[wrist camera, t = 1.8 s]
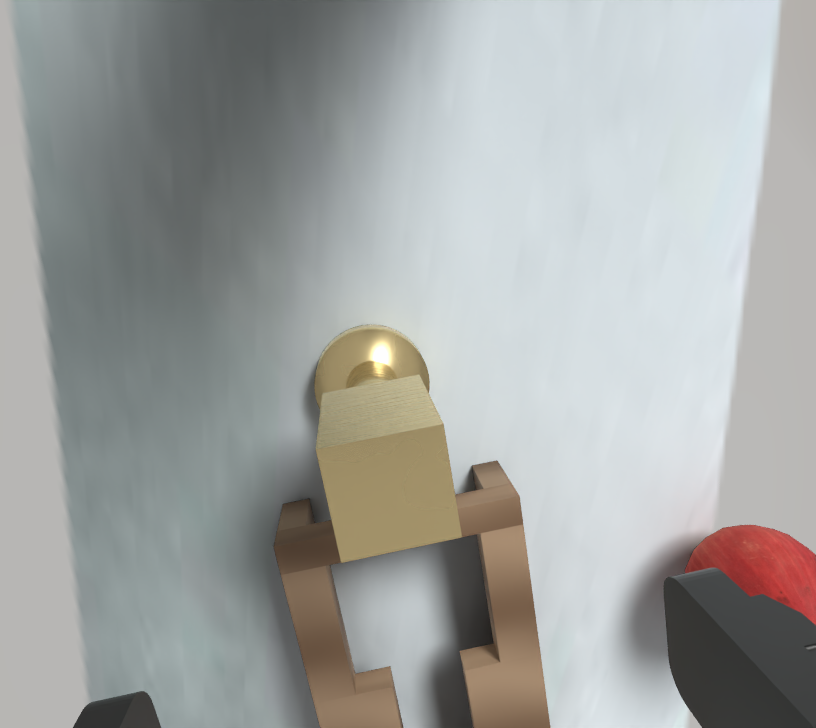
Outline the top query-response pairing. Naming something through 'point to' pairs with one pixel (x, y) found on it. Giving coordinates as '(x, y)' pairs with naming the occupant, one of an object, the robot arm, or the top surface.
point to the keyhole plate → (482, 666)
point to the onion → (762, 564)
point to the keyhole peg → (382, 446)
